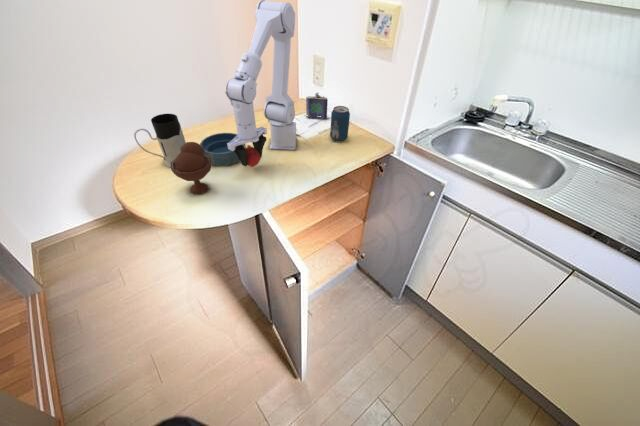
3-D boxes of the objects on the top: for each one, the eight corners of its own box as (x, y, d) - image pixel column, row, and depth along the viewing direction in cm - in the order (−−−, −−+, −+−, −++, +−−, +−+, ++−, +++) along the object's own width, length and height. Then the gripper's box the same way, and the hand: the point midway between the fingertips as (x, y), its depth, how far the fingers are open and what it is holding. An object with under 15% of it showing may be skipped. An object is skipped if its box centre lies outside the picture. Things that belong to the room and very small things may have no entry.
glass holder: (196, 161, 100) (183, 119, 90) (153, 176, 93) (134, 132, 83) (186, 151, 104) (173, 110, 94) (144, 164, 97) (125, 122, 87)
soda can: (346, 134, 118) (349, 105, 110) (348, 143, 113) (351, 113, 105) (329, 134, 118) (331, 105, 110) (330, 142, 112) (332, 112, 104)
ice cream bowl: (184, 179, 92) (170, 135, 82) (220, 178, 93) (210, 135, 83) (175, 200, 84) (157, 155, 74) (214, 199, 85) (202, 154, 75)
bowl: (250, 145, 109) (248, 133, 106) (242, 167, 98) (239, 154, 95) (210, 144, 109) (207, 132, 105) (197, 166, 98) (193, 153, 94)
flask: (305, 118, 128) (305, 93, 121) (306, 115, 131) (306, 91, 124) (326, 119, 128) (327, 95, 121) (327, 117, 130) (328, 92, 123)
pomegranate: (263, 162, 99) (260, 141, 94) (258, 172, 95) (255, 150, 90) (246, 161, 99) (242, 140, 94) (241, 170, 95) (237, 149, 90)
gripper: (236, 134, 80) (243, 175, 90) (272, 117, 89) (275, 156, 98) (219, 127, 83) (227, 167, 93) (255, 111, 92) (260, 149, 101)
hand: (251, 161), depth 96 cm, fingers closed on pomegranate, 6 cm apart
